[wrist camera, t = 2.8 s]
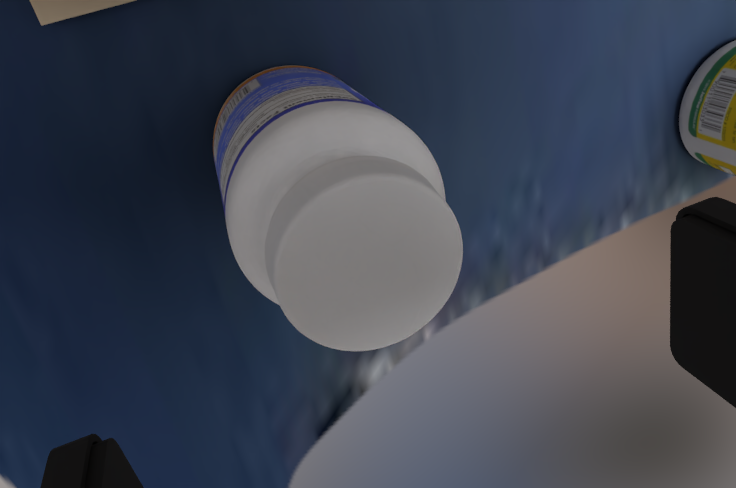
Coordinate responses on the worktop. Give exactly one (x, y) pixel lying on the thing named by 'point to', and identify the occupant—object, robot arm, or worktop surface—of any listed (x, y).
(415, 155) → the pill bottle
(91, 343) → the worktop surface
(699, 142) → the supplement bottle
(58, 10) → the shaft bracket
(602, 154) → the worktop surface
